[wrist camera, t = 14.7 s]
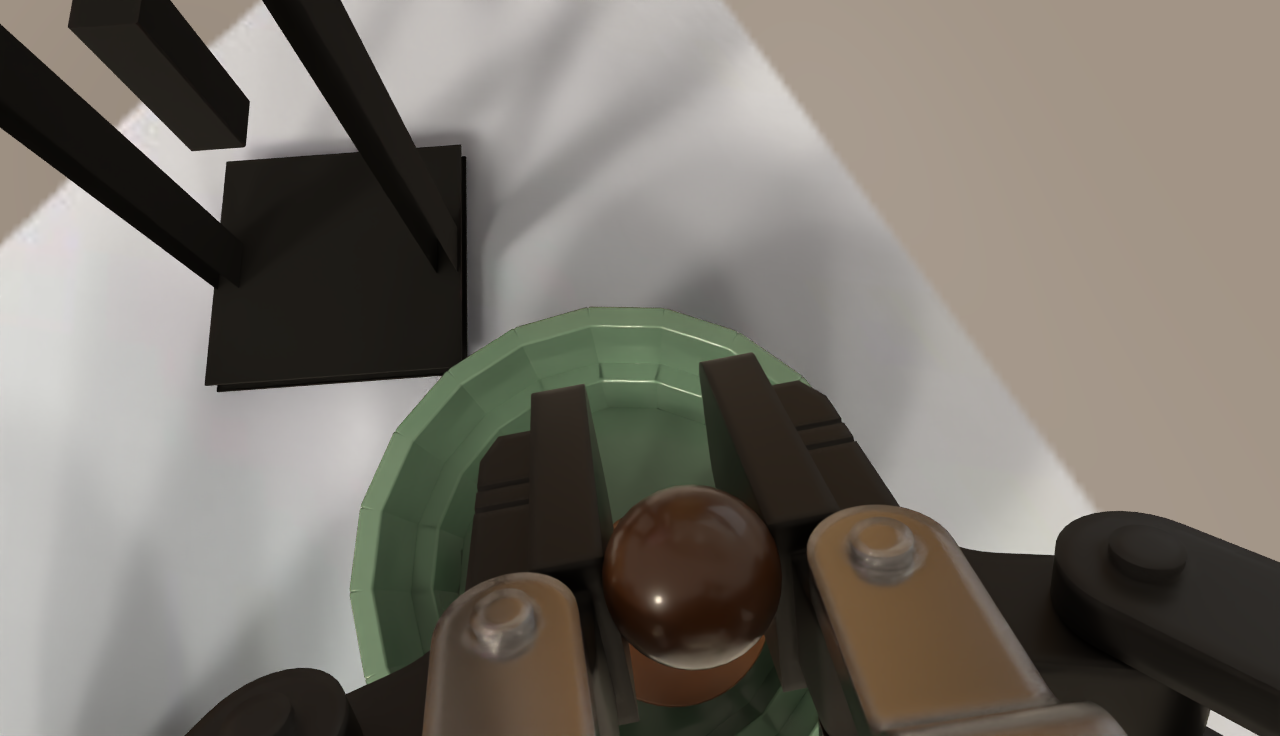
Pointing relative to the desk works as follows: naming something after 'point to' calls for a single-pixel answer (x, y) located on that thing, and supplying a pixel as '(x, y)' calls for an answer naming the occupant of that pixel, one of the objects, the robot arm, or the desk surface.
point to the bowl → (632, 463)
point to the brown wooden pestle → (691, 591)
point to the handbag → (270, 198)
